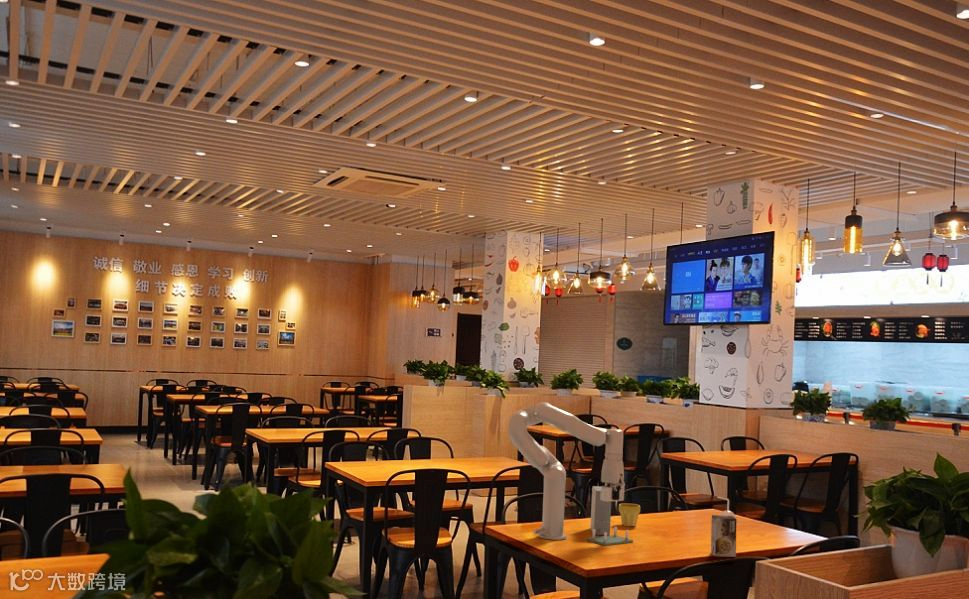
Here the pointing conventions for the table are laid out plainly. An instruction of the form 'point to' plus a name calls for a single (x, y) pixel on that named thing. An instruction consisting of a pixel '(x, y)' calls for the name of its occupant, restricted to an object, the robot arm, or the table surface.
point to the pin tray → (610, 538)
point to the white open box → (610, 493)
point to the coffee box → (723, 536)
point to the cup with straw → (727, 512)
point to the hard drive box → (600, 513)
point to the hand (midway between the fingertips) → (612, 498)
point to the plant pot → (629, 514)
